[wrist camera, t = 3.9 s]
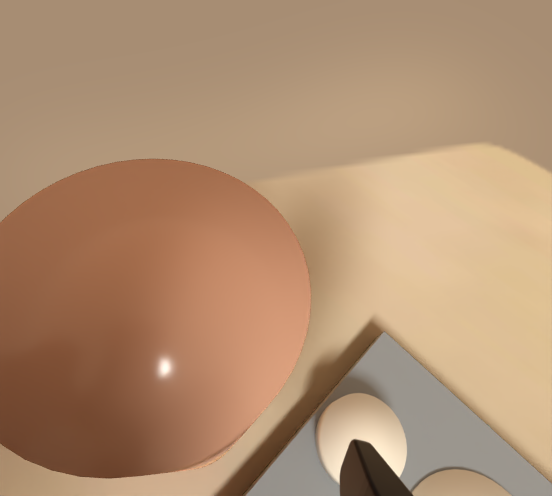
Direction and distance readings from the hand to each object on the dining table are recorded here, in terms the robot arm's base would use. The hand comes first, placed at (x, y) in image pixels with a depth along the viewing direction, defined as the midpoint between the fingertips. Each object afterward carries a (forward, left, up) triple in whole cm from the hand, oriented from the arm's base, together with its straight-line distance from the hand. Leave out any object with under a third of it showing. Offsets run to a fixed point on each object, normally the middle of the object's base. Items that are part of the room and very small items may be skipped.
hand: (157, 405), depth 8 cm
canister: (+1, +1, -9) cm, 9 cm away
